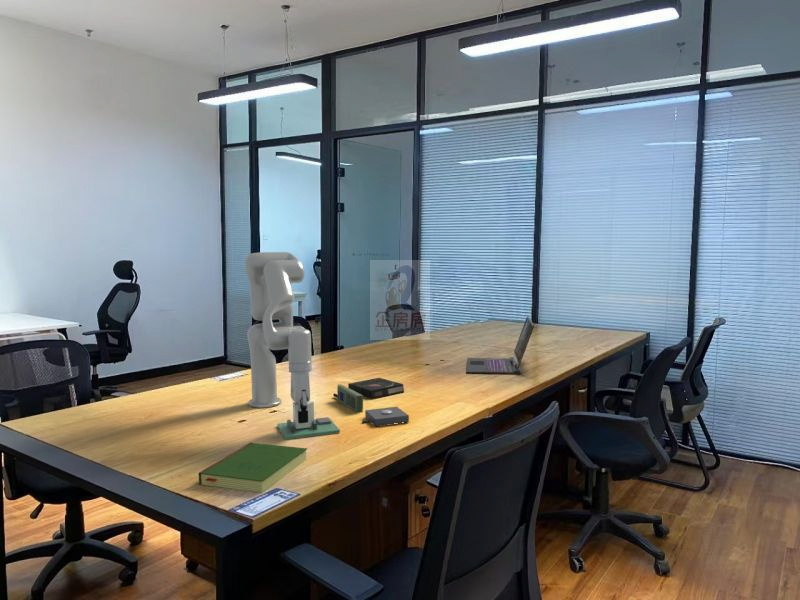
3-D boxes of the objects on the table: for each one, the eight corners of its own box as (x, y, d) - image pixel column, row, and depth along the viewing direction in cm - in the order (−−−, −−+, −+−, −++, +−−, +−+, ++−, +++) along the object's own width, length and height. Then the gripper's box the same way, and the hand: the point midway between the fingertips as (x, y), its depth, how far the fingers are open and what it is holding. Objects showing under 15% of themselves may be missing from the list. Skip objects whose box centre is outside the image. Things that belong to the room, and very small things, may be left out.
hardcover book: (250, 454, 174) (250, 442, 174) (307, 461, 168) (307, 448, 168) (197, 487, 151) (196, 473, 150) (261, 496, 145) (260, 481, 144)
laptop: (467, 360, 312) (467, 316, 310) (527, 361, 308) (528, 316, 306) (466, 375, 278) (466, 325, 276) (534, 376, 274) (534, 325, 272)
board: (277, 426, 200) (277, 417, 199) (328, 420, 206) (328, 412, 206) (284, 439, 186) (284, 430, 185) (339, 432, 192) (339, 423, 192)
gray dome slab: (356, 418, 208) (356, 410, 208) (396, 413, 213) (396, 405, 213) (366, 427, 197) (366, 419, 196) (408, 422, 202) (408, 414, 202)
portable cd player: (372, 400, 233) (372, 390, 233) (348, 392, 246) (348, 383, 246) (404, 393, 244) (404, 384, 243) (379, 386, 257) (379, 377, 256)
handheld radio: (355, 413, 215) (330, 398, 237) (364, 412, 216) (338, 397, 238) (356, 395, 214) (330, 382, 236) (364, 395, 216) (338, 381, 238)
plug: (293, 425, 196) (292, 402, 195) (312, 423, 198) (311, 400, 197) (295, 429, 192) (294, 405, 191) (315, 426, 194) (314, 403, 194)
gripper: (284, 363, 199) (286, 415, 201) (293, 372, 184) (295, 429, 186) (306, 361, 202) (307, 413, 204) (317, 370, 187) (318, 426, 188)
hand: (301, 420), depth 195 cm, fingers closed on plug, 4 cm apart
